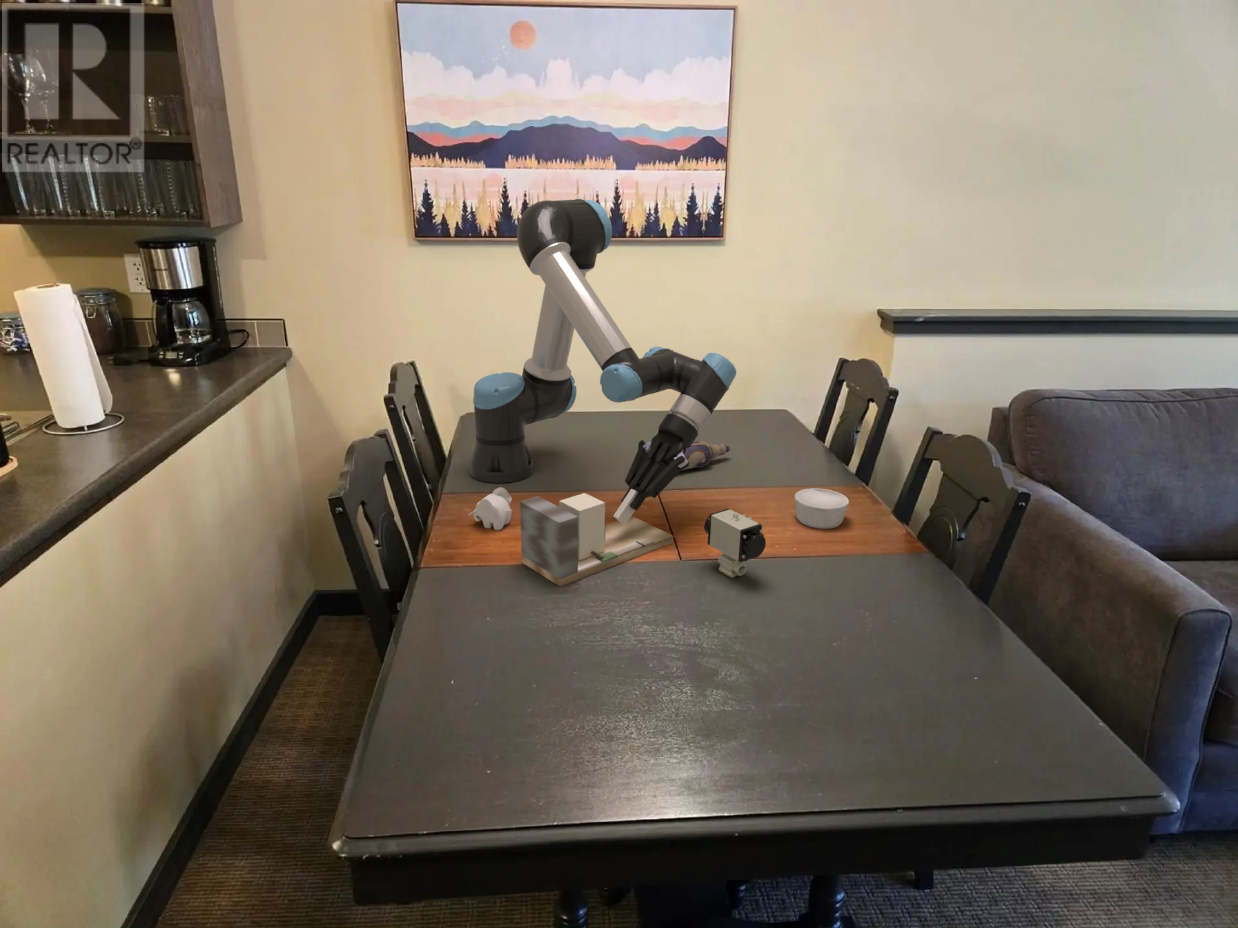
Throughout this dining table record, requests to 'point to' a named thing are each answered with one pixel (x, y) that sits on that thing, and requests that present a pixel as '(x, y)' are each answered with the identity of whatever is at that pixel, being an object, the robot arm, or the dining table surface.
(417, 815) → the dining table surface
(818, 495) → the ramekin
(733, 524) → the pneumatic valve
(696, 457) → the decorative bottle
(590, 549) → the block
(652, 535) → the board
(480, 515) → the elephant figurine
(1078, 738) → the dining table surface
